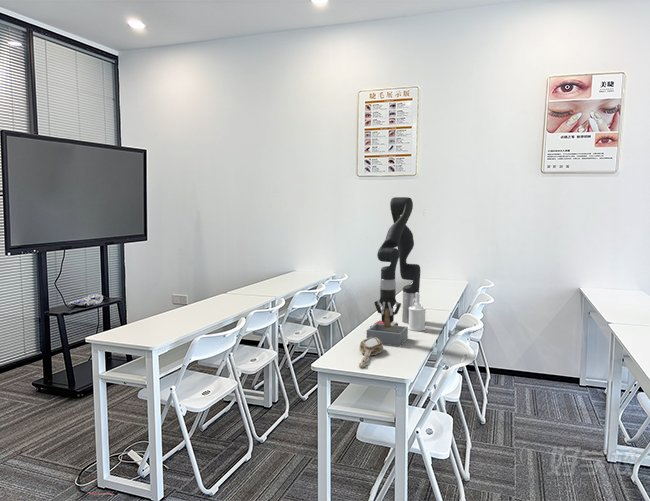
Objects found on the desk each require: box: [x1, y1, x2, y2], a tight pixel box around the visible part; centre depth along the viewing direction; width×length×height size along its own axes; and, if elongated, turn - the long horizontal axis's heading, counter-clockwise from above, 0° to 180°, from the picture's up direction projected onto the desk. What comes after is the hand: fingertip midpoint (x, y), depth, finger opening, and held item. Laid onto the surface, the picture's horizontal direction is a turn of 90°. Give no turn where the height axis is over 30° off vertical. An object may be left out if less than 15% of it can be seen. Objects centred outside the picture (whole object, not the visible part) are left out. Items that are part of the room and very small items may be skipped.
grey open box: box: [366, 322, 409, 347], centre depth 241 cm, size 14×17×6 cm
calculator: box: [369, 320, 399, 328], centre depth 259 cm, size 11×4×15 cm
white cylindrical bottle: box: [407, 292, 427, 332], centre depth 261 cm, size 10×9×20 cm
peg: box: [384, 308, 391, 328], centre depth 240 cm, size 3×3×10 cm
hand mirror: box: [358, 337, 384, 369], centre depth 216 cm, size 11×6×30 cm
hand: (387, 321), depth 240 cm, fingers closed on peg, 3 cm apart
